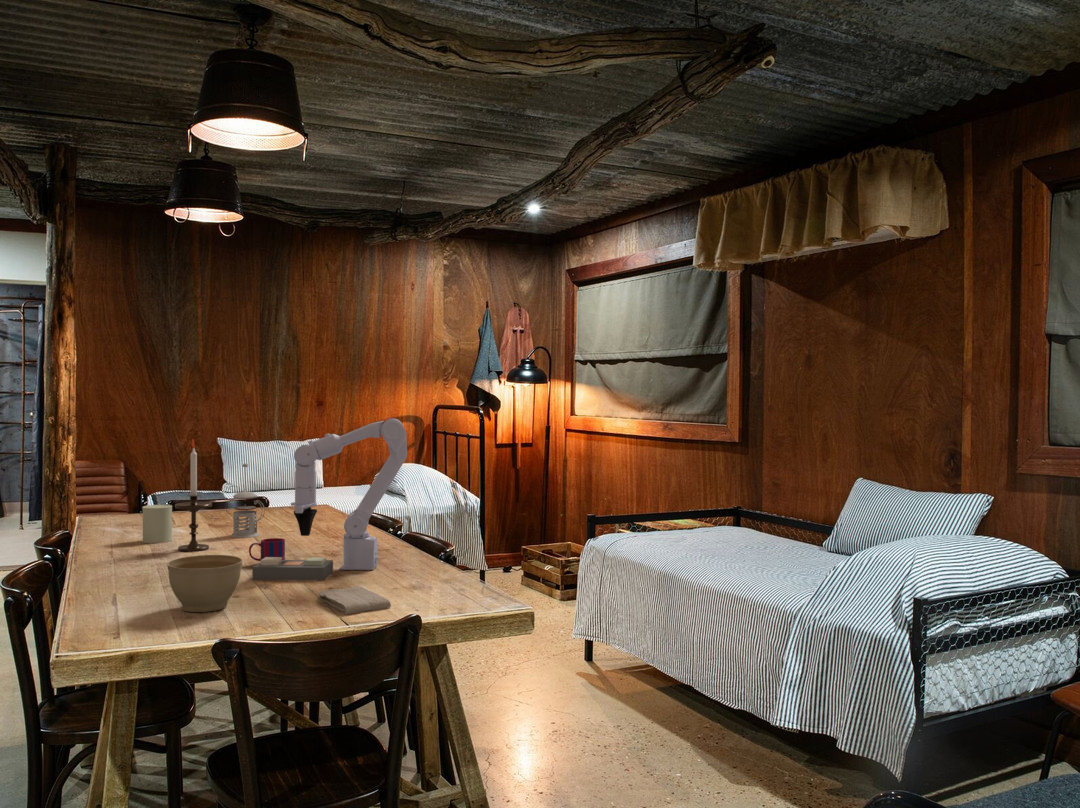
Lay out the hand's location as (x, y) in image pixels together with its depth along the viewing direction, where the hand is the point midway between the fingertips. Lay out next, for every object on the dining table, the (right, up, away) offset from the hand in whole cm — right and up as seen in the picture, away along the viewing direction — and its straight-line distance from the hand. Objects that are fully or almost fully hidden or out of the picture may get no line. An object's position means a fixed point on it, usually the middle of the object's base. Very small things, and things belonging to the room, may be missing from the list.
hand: (305, 535), depth 246 cm
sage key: (+5, -7, -10) cm, 13 cm away
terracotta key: (-1, -8, -10) cm, 13 cm away
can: (-61, -9, +44) cm, 76 cm away
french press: (-35, -9, +56) cm, 67 cm away
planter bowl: (-11, -10, -45) cm, 47 cm away
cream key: (-7, -7, -10) cm, 14 cm away
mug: (-13, -10, +7) cm, 18 cm away
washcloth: (+22, -11, -40) cm, 47 cm away
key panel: (-1, -10, -10) cm, 14 cm away
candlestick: (-43, -9, +29) cm, 53 cm away
